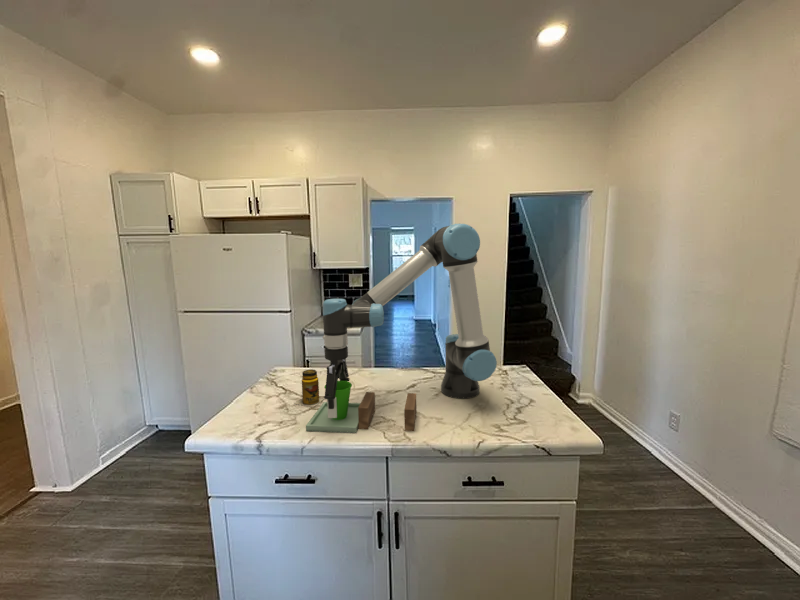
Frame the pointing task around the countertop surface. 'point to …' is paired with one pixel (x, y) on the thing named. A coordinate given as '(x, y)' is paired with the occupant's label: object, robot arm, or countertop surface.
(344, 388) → the cup
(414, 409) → the holder
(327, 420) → the tray
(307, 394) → the condiment
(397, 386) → the countertop surface
